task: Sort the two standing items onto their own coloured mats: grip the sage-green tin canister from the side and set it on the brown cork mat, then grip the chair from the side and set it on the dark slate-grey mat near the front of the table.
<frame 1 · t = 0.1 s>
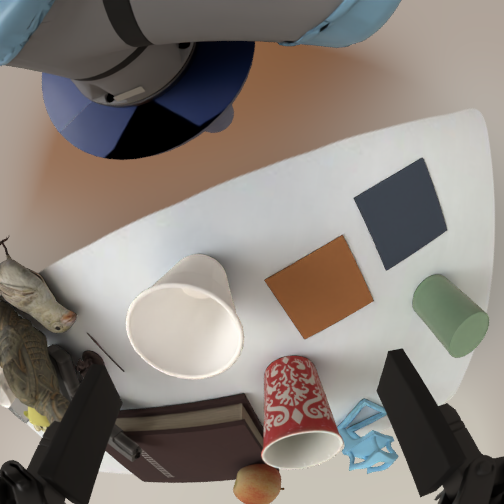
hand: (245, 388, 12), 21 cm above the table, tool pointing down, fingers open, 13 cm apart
canister: (431, 295, 35), on the table
mug: (291, 380, 40), on the table
phone: (21, 401, 44), on the table
chair: (358, 416, 44), on the table
handgun: (85, 376, 33), point 5 cm above the table, touching book, statue
book: (188, 437, 45), on the table, touching apple, handgun
figurine: (96, 357, 38), on the table
cork mat: (322, 290, 34), on the table
cup: (200, 277, 33), on the table
slate mat: (405, 214, 31), on the table
toy: (64, 430, 43), point 2 cm above the table
apple: (234, 478, 36), point 9 cm above the table, touching book
mug 2: (18, 354, 38), on the table
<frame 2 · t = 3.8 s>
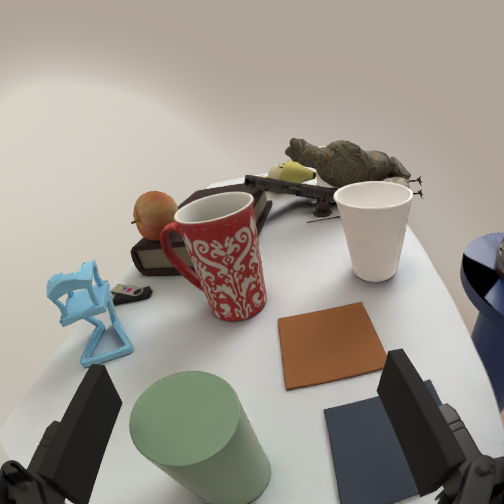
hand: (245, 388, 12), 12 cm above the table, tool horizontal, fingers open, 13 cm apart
canister: (230, 473, 18), on the table
mug: (227, 303, 39), on the table
usb flash drive: (127, 288, 45), point 1 cm above the table
statue: (396, 177, 64), point 2 cm above the table, touching decorative bird, handgun
chair: (109, 342, 36), on the table
handgun: (322, 192, 54), point 5 cm above the table, touching book, statue
book: (213, 236, 59), on the table, touching apple, handgun
figurine: (323, 215, 57), on the table
cork mat: (329, 342, 29), on the table
cup: (375, 271, 38), on the table
slate mat: (395, 444, 17), on the table
toy: (264, 182, 80), point 2 cm above the table
apple: (176, 211, 48), point 9 cm above the table, touching book
decorative bird: (422, 187, 52), point 3 cm above the table, touching statue
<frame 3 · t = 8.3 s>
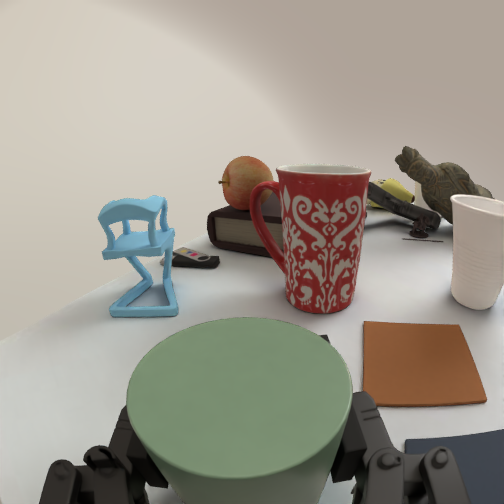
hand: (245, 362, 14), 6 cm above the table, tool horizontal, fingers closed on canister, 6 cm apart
canister: (254, 498, 11), on the table, touching gripper
mug: (306, 294, 32), on the table
usb flash drive: (192, 252, 42), point 1 cm above the table
statue: (492, 221, 49), point 2 cm above the table, touching decorative bird, handgun
chair: (152, 299, 33), on the table
handgun: (424, 211, 44), point 5 cm above the table, touching book, statue
book: (300, 229, 53), on the table, touching apple, handgun
figurine: (419, 237, 47), on the table
cork mat: (421, 360, 20), on the table
cup: (472, 299, 27), on the table
slate mat: (479, 498, 7), on the table
toy: (360, 196, 72), point 2 cm above the table
apple: (270, 186, 44), point 9 cm above the table, touching book
mug 2: (431, 215, 60), on the table
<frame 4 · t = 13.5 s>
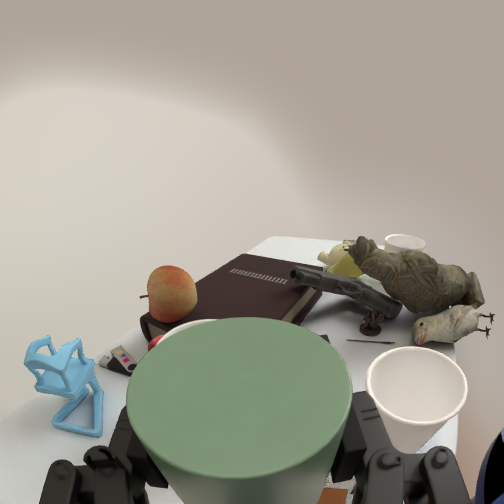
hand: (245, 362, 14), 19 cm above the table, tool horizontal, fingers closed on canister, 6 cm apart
canister: (254, 498, 11), point 13 cm above the table, touching gripper
mug: (211, 428, 30), on the table
usb flash drive: (125, 357, 40), point 1 cm above the table
statue: (468, 297, 47), point 2 cm above the table, touching decorative bird, handgun
chair: (85, 411, 30), on the table
handgun: (376, 310, 42), point 5 cm above the table, touching book, statue
book: (241, 319, 51), on the table, touching apple, handgun
figurine: (370, 333, 44), on the table
cup: (387, 447, 24), on the table
toy: (324, 258, 69), point 2 cm above the table
apple: (196, 294, 42), point 9 cm above the table, touching book
decorative bird: (492, 326, 35), point 3 cm above the table, touching statue
mug 2: (400, 284, 58), on the table
when the fingers open (6 cm above the table, at t = 18.6 s): canister stays where it is, resting on cork mat.
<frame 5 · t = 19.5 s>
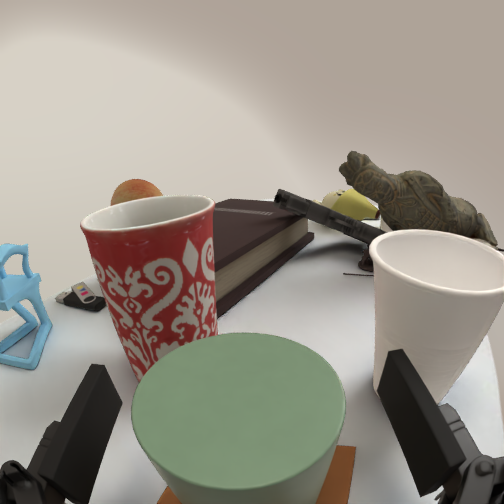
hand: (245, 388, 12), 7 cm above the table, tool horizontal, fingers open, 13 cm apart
canister: (253, 502, 12), resting on cork mat
mug: (166, 361, 24), on the table
usb flash drive: (84, 290, 34), point 1 cm above the table
statue: (478, 242, 41), point 2 cm above the table, touching decorative bird, handgun
chair: (28, 344, 25), on the table
handgun: (376, 237, 36), point 5 cm above the table, touching book, statue
book: (221, 258, 45), on the table, touching apple, handgun
figurine: (371, 269, 39), on the table
cork mat: (254, 503, 12), on the table
cup: (408, 388, 19), on the table
toy: (317, 209, 63), point 2 cm above the table
apple: (166, 213, 36), point 9 cm above the table, touching book
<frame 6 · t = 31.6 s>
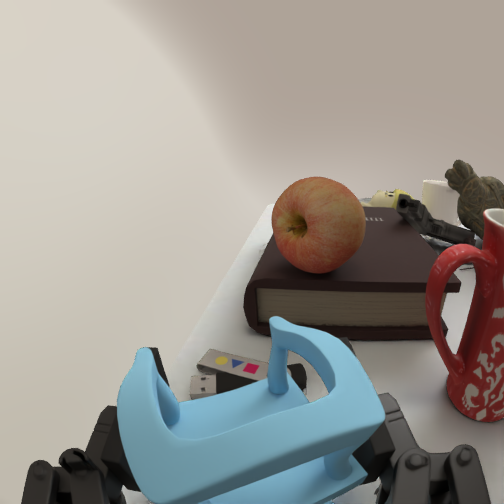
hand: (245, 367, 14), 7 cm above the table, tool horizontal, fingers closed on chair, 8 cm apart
mug: (465, 392, 16), on the table
usb flash drive: (245, 363, 22), point 1 cm above the table
statue: (502, 228, 47), point 2 cm above the table, touching decorative bird, handgun
handgun: (475, 234, 35), point 5 cm above the table, touching book, statue
book: (343, 274, 38), on the table, touching apple, handgun
figurine: (467, 262, 38), on the table
toy: (359, 211, 61), point 2 cm above the table
apple: (341, 225, 27), point 9 cm above the table, touching book
mug 2: (441, 227, 55), on the table
when the fingers open (7 cm above the table, at t = 44.2 s): chair stays where it is, resting on slate mat.
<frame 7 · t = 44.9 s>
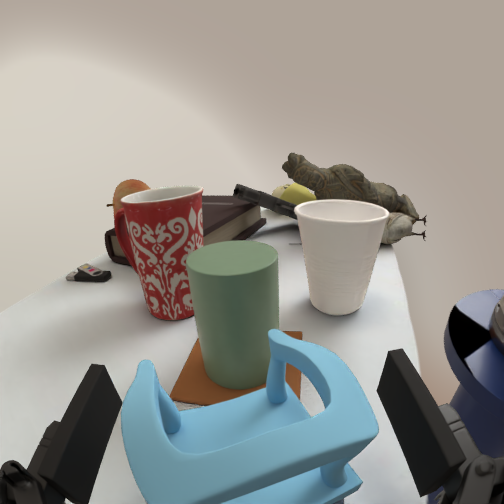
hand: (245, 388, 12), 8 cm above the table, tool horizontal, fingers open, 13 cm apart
canister: (241, 363, 24), resting on cork mat
mug: (168, 302, 36), on the table
usb flash drive: (90, 268, 43), point 1 cm above the table
statue: (404, 218, 59), point 2 cm above the table, touching decorative bird, handgun
handgun: (312, 215, 51), point 5 cm above the table, touching book, statue
book: (194, 240, 57), on the table, touching apple, handgun
cork mat: (242, 365, 24), on the table
cup: (336, 304, 33), on the table
toy: (268, 201, 78), point 2 cm above the table
apple: (154, 204, 47), point 9 cm above the table, touching book
decorative bird: (426, 228, 47), point 3 cm above the table, touching statue
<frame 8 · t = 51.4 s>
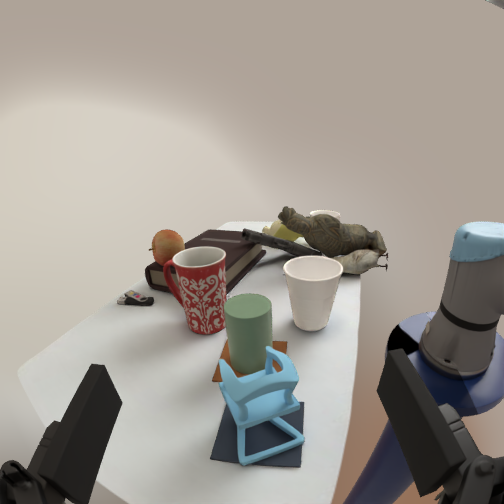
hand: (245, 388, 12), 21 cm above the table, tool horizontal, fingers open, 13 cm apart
canister: (251, 360, 43), resting on cork mat
mug: (200, 321, 54), on the table
usb flash drive: (136, 294, 62), point 1 cm above the table
statue: (375, 249, 78), point 2 cm above the table, touching decorative bird, handgun
chair: (260, 431, 31), resting on slate mat
handgun: (300, 253, 70), point 5 cm above the table, touching book, statue
book: (211, 270, 76), on the table, touching apple, handgun
cork mat: (252, 361, 43), on the table
cup: (310, 323, 52), on the table
slate mat: (260, 431, 31), on the table
toy: (267, 231, 96), point 2 cm above the table
apple: (183, 247, 66), point 9 cm above the table, touching book
decorative bird: (388, 262, 66), point 3 cm above the table, touching statue
mug 2: (324, 245, 88), on the table
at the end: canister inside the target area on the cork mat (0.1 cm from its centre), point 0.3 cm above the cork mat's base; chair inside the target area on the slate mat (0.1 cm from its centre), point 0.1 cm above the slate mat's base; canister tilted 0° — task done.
